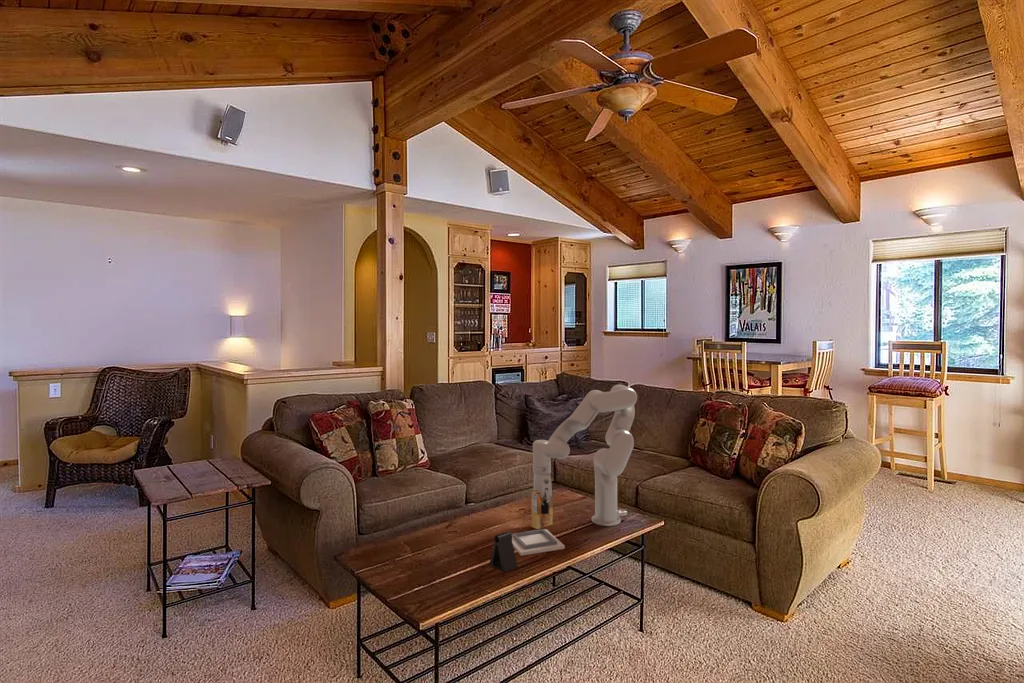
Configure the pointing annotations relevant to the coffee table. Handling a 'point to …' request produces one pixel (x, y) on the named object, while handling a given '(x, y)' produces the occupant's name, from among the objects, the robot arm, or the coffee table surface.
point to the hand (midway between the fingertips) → (542, 510)
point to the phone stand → (503, 553)
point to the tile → (535, 542)
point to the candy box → (537, 517)
